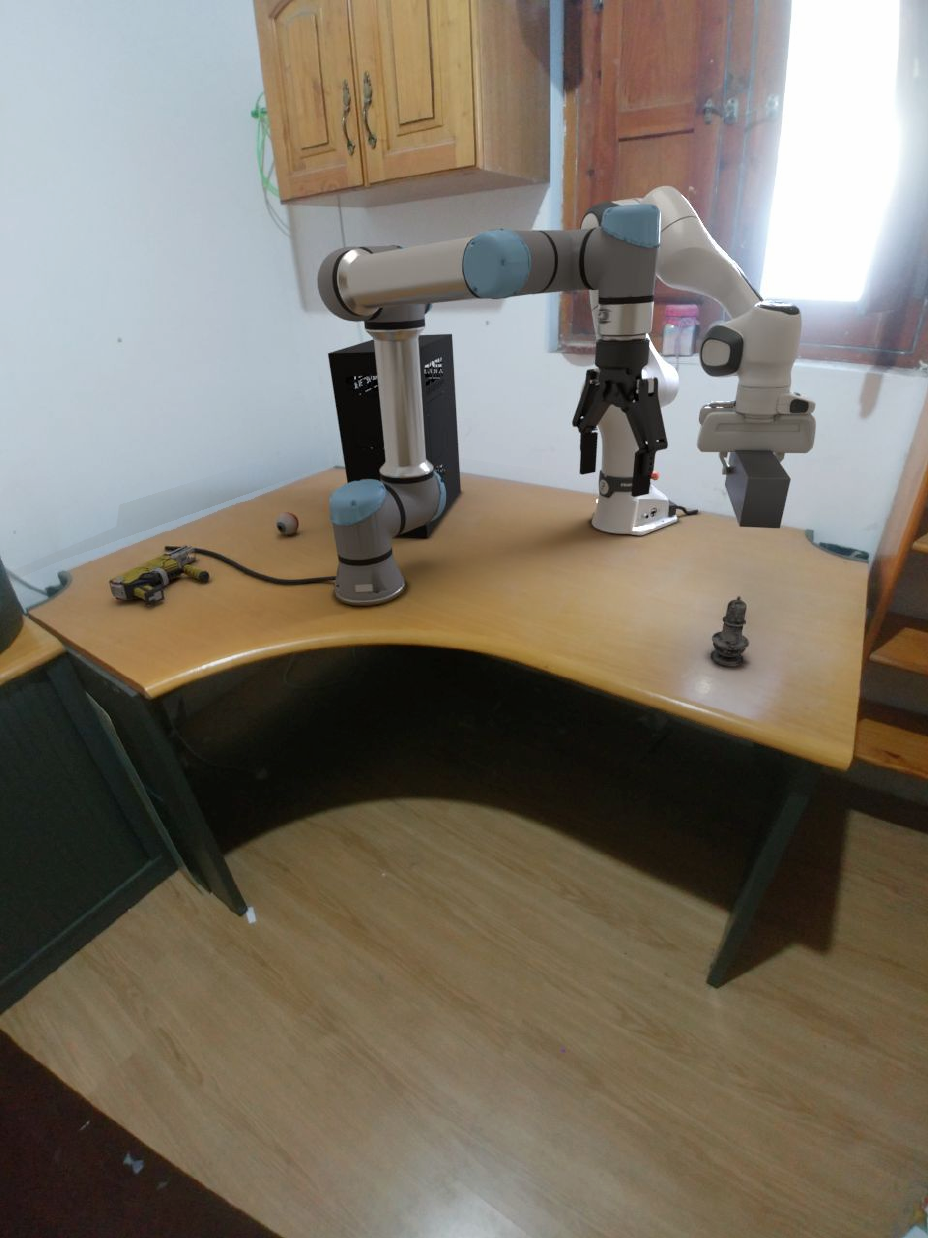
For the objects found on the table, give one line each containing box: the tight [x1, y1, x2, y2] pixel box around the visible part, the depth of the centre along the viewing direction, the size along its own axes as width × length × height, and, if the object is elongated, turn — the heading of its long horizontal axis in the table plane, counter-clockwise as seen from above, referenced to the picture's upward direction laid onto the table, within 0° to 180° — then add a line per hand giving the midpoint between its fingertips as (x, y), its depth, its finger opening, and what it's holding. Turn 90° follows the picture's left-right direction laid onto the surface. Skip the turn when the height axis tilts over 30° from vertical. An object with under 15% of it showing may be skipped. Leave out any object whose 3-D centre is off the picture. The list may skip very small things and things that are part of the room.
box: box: [724, 450, 792, 529], centre depth 111 cm, size 24×6×9 cm, turn 165°
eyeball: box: [275, 511, 300, 536], centre depth 163 cm, size 6×6×6 cm
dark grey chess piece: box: [710, 595, 750, 667], centre depth 101 cm, size 6×6×12 cm
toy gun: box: [108, 544, 210, 607], centre depth 141 cm, size 5×24×15 cm
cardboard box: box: [327, 333, 462, 539], centre depth 164 cm, size 38×20×45 cm, turn 167°
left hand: (612, 483), depth 96 cm, fingers open, 13 cm apart
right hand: (747, 474), depth 118 cm, fingers closed on box, 6 cm apart
